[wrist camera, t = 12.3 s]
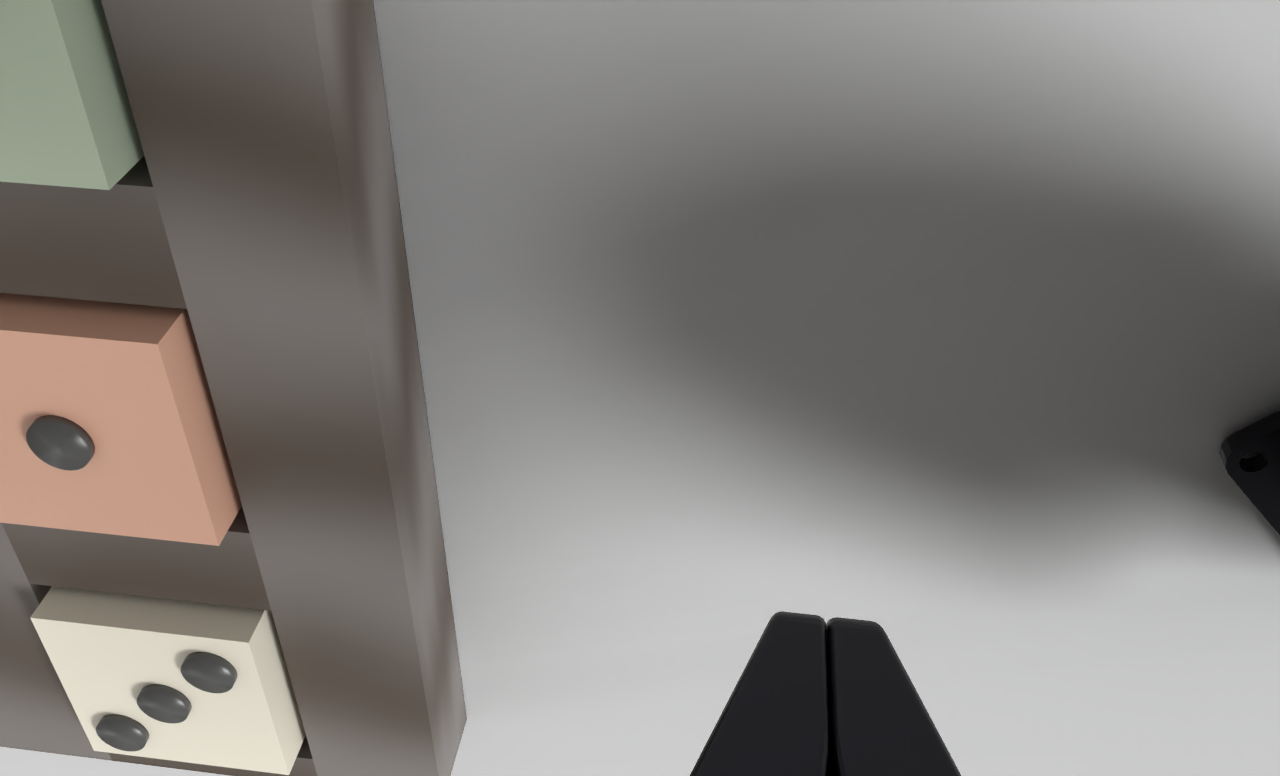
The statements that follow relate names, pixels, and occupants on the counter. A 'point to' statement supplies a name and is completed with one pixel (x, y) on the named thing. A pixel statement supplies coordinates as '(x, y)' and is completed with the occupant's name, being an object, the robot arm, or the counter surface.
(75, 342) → the tile one
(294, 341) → the tile board
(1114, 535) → the counter surface
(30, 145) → the tile two
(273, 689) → the tile three
